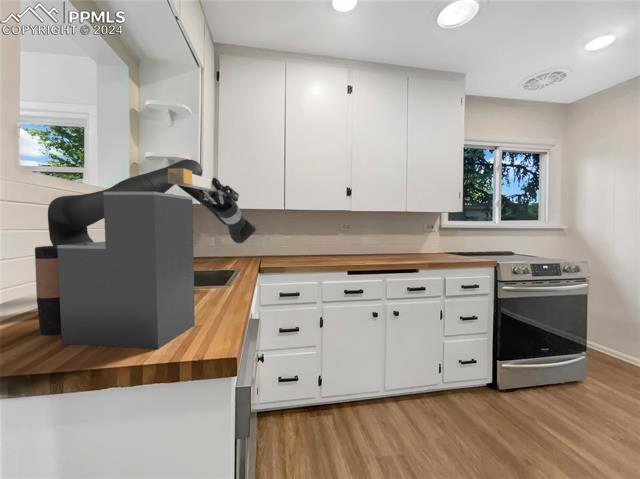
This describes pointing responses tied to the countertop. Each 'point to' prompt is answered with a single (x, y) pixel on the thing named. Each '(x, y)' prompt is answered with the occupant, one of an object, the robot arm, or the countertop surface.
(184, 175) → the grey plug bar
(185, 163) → the robot arm
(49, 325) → the travel mug
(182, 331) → the grey stepped block
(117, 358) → the countertop surface
